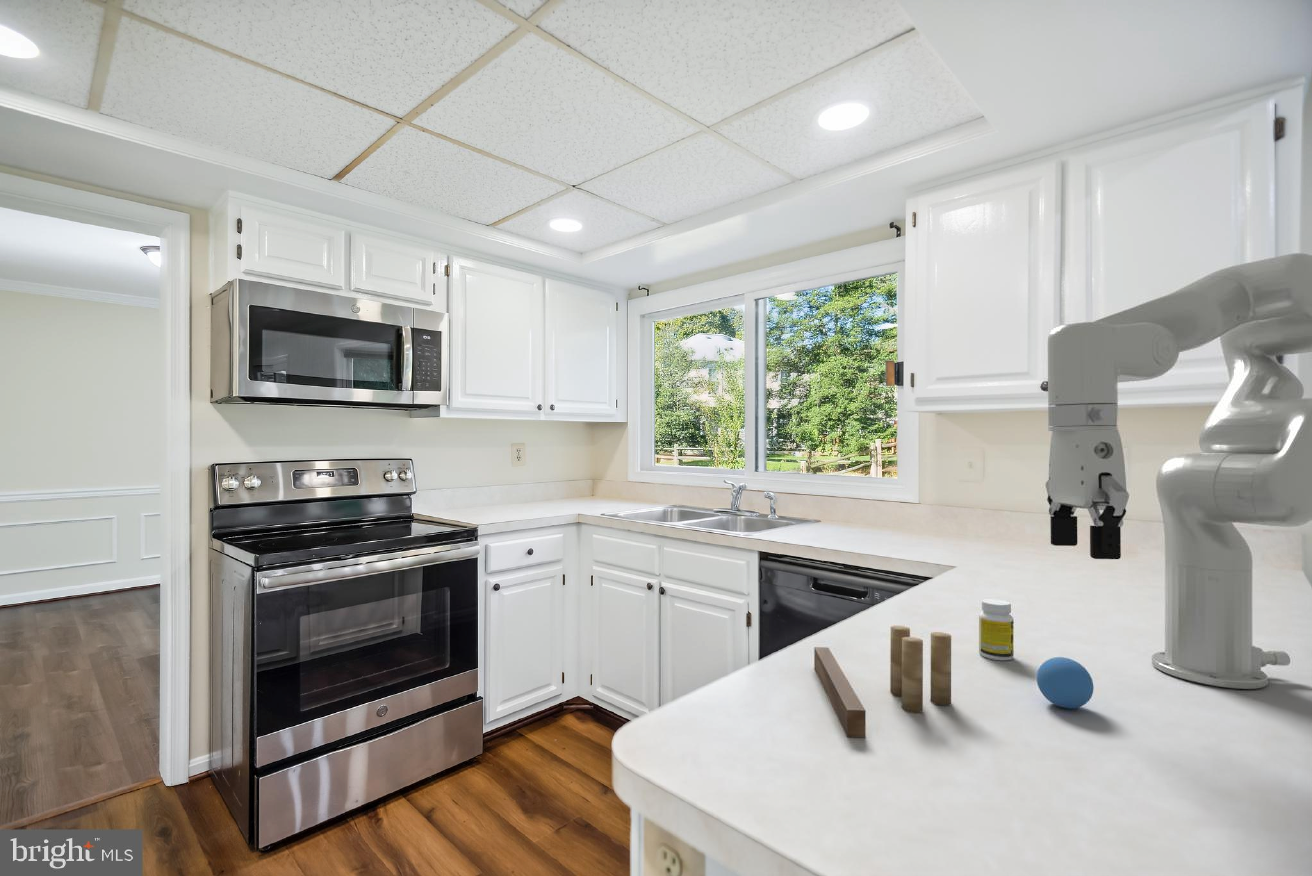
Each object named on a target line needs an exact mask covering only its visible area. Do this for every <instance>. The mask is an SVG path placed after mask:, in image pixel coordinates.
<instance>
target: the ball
mask: <svg viewBox="0 0 1312 876" xmlns="http://www.w3.org/2000/svg"><path fill="white" fill-rule="evenodd" d="M1092 678H1093V677H1091V674H1090V673H1089V671H1088V669H1086V668H1085V666H1084V665H1082V664H1080V662H1078V661H1076V660H1074V659H1071V658H1068V657H1062V656H1061V657H1060V656H1058V657H1057V656H1056V657H1052V658H1049V659H1047V660H1045V661H1044V662H1043V663H1041V665H1040V666H1039V667H1038V669H1037V672H1036V682H1037V686H1038V689H1039V691H1040V693H1041V694H1042V695H1043V696H1044V698H1045V699H1046V700H1047V701H1048V702H1050V703H1051V704H1053V705H1055V706H1057V707H1060V708H1064V709H1078V708H1081V707H1083V706H1085V705H1086V704H1087V703H1088V702H1089V701H1090V700H1091V699H1092V696H1093V694H1094V690H1095V689H1094V682H1093V679H1092Z"/></svg>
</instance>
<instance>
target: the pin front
mask: <svg viewBox="0 0 1312 876" xmlns="http://www.w3.org/2000/svg"><path fill="white" fill-rule="evenodd" d="M930 702H931V703H932V704H934V705H936V706H937V705H938V706H943V707H947V706H951V705H952V635H951V634H949V633H946V632H942V631H933V632H931V633H930Z"/></svg>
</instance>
